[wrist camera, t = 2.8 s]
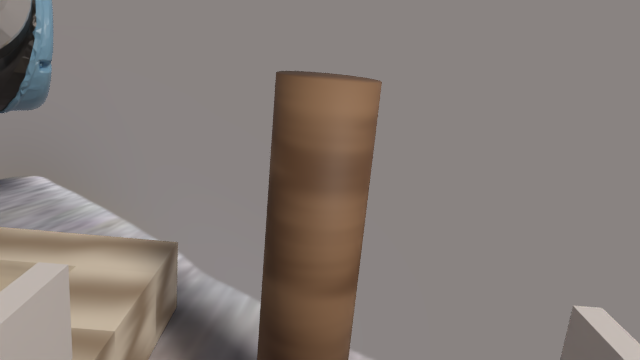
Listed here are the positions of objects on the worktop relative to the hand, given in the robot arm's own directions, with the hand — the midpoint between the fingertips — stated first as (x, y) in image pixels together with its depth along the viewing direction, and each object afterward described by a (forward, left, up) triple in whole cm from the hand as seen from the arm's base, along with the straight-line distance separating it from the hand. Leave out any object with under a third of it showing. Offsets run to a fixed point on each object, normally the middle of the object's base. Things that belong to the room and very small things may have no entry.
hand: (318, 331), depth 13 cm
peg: (-9, +3, -12) cm, 16 cm away
